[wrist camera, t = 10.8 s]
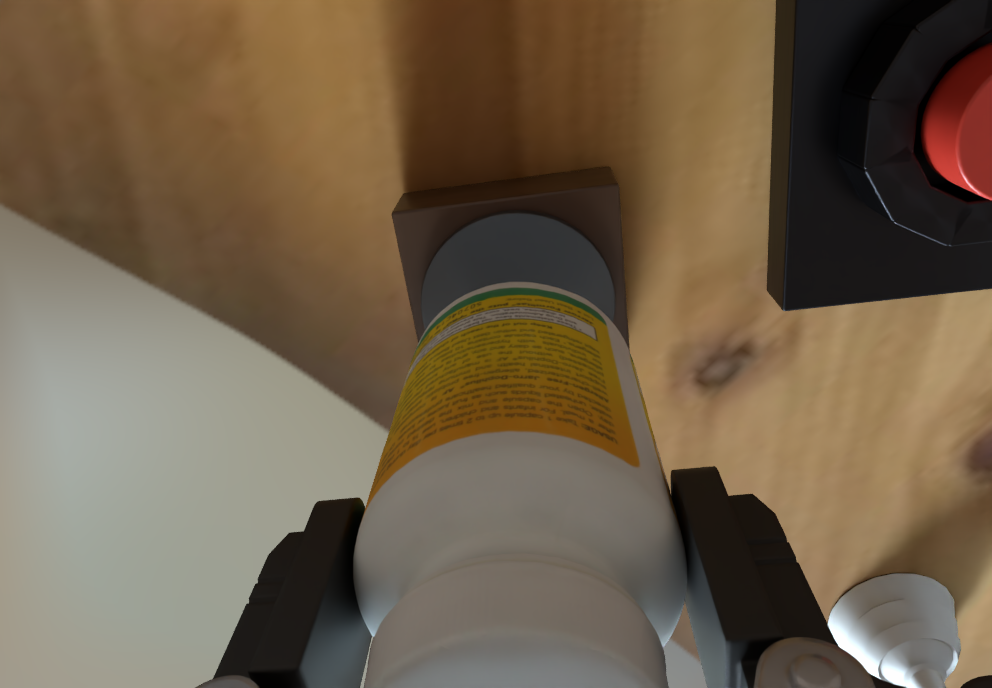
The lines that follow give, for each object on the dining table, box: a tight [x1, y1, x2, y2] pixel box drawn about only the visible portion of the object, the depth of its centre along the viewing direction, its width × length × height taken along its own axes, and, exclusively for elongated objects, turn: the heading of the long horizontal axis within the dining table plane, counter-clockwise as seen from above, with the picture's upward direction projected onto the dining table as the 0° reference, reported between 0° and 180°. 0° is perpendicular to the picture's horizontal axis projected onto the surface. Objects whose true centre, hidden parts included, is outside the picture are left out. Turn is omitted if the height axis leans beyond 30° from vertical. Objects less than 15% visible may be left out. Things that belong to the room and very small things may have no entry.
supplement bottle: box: [353, 282, 687, 688], centre depth 13 cm, size 5×5×10 cm
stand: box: [392, 167, 630, 352], centre depth 22 cm, size 6×6×2 cm
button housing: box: [767, 0, 992, 311], centre depth 19 cm, size 11×9×4 cm
